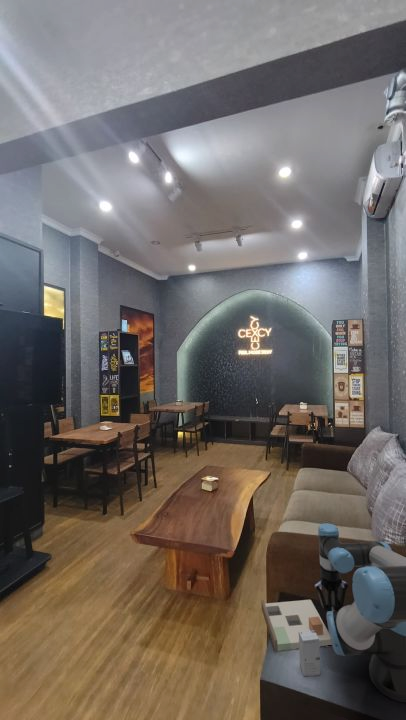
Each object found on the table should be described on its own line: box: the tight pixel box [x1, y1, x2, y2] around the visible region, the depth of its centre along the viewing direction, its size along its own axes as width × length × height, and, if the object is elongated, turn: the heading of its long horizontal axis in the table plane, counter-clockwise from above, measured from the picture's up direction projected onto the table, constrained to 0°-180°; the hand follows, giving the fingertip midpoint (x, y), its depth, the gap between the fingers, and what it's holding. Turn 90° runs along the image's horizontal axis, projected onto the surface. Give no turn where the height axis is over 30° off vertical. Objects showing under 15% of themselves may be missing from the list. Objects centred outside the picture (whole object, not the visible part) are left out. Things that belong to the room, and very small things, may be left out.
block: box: [309, 617, 323, 635], centre depth 134 cm, size 4×4×4 cm
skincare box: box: [298, 630, 321, 677], centre depth 120 cm, size 6×4×12 cm
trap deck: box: [260, 599, 332, 652], centre depth 140 cm, size 22×22×4 cm
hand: (333, 626), depth 134 cm, fingers closed
